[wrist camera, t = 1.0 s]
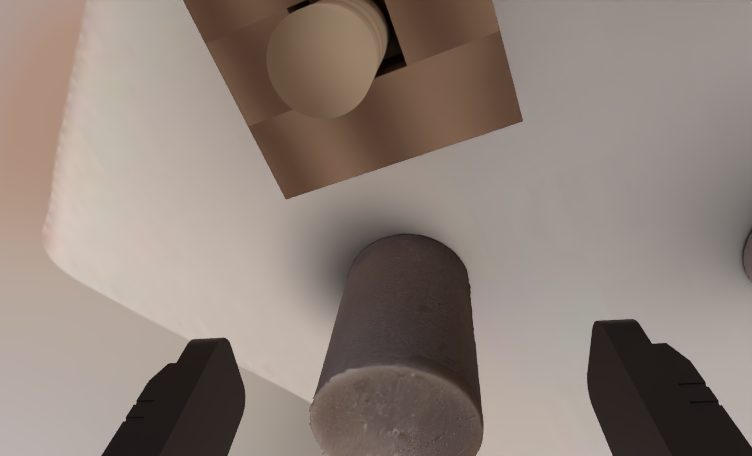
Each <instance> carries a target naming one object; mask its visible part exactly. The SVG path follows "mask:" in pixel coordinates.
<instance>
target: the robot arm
mask: <svg viewBox="0 0 752 456" xmlns="http://www.w3.org/2000/svg"><path fill="white" fill-rule="evenodd" d="M743 262H744V267H745V272H746V274H747V275H748V277H749V279H750V280H751V282H752V233H751V235H750V236H749V238H748V241H747V244H746V247H745V249H744V259H743ZM705 383H706V382H705V381H704V380H703V378H702V377H701V375H700V374H699V373H698V371H697V370H696V368H695V367H694V366H693V364H692V363H691V361H690V360H688V359H687V358H686V357H684V356H683V355H681V354H680V353H679V352H677V351H676V350H675V349H673V348H672V347H671V346H669V345H668V344H667V343H659V344H652V343H651V342H650V340H649V338H648V337H647V335H646V334H645V332H644V331H643V329H642V327H641V326H640V324H639V323H638V322H637V321H636V320H634V319H624V320H604V321H595V322H594V325H593V329H592V337H591V346H590V355H589V364H588V372H587V384H588V392H589V397H590V400H591V404H592V406H593V409H594V411H595V414H596V416H597V419H598V421H599V423H600V426H601V428H602V431H603V433H604V435H605V438H606V440H607V443H608V445H609V447H610V450H611V452H612V455H613V456H752V447H751V446H750V444H749V443H748V442H747V440H746V439H745V437H744V436H743V435H742V433H741V432H740V430H739V429H738V427H737V426H736V425H735V423H734V422H733V420H732V419H731V418H730V416H729V415H728V413H727V412H726V411H725V409H724V408H723V406H722V405H719V403H718V399H717V398H716V397H715V395H714V394H713V392H712V391H711V390H710V388H709V387H706V384H705ZM244 407H245V389H244V385H243V381H242V378H241V375H240V372H239V369H238V366H237V363H236V360H235V357H234V354H233V351H232V348H231V345H230V342H229V341H228V340H227V339H226V338H210V339H193V340H191V341H190V342H189V343H188V344H187V346H186V348H185V349H184V351H183V353H182V354H181V356H180V358H179V359H178V361H177V363H170V364H167V365H166V366H165V367H164V368H163V369H162V370H161V371H160V372H158V373H157V374H156V375H155V376H154V377H153V378H152V379H151V380H149V382H148V383H147V385H146V386H145V388H144V390H143V392H142V393H141V394H140V396H139V398H138V399H137V403H136V405H133V407H132V409H131V410H130V412H129V413H128V415H127V416H126V421H125V422H123V423H122V424H121V426H120V428H119V429H118V431H117V432H116V434H115V435H114V437H113V438H112V440H111V442H110V443H109V445H108V446H107V448H106V449H105V451H104V453H103V454H102V456H227V455H228V453H229V450H230V447H231V445H232V442H233V439H234V437H235V434H236V432H237V429H238V426H239V424H240V421H241V418H242V415H243V412H244Z"/></svg>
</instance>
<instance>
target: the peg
mask: <svg viewBox="0 0 752 456" xmlns="http://www.w3.org/2000/svg"><path fill="white" fill-rule="evenodd" d="M393 33H394V27H393V24H392V21H391V18H390V15H389V12H388V9H387V6H386V4H385V1H384V0H321V1H318V2H316V3H313V4H311V5H309V6H306V7H304V8H301V9H299V10H296V11H294V12H293V13H291V14H289V15H288V16H286V17H285V18H284V19H283V20H282V21H281V22H280V23H279V24H278V25H277V27H276V28H275V29H274V31H273V33H272V35H271V37H270V40H269V43H268V47H267V55H266V62H267V70H268V74H269V78H270V80H271V83H272V85H273V87H274V89H275V91H276V92H277V94H278V95H279V96H280V98H281V99H282V100H283V101H284V102H285V103H286V104H287V105H288V106H290V107H291V108H292V109H294V110H295V111H297V112H299V113H301V114H303V115H306V116H308V117H312V118H318V119H330V118H336V117H339V116H342V115H344V114H346V113H348V112H350V111H351V110H353V109H354V108H355V107H356V106H358V104H359V103H360V102H361V101H362V100H363V98H364V97H365V96H366V94H367V92H368V90H369V88H370V86H371V83H372V81H373V79H374V77H375V75H376V73H377V70H378V68H379V66H380V64H381V62H382V60H383V57H384V55H385V53H386V51H387V49H388V47H389V44H390V42H391V40H392V37H393Z"/></svg>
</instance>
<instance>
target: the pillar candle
mask: <svg viewBox="0 0 752 456" xmlns="http://www.w3.org/2000/svg"><path fill="white" fill-rule="evenodd" d="M470 288H471V287H470V284H469V279H468V274H467V269H466V268H465V266H464V264H463V263H462V261H461V260H460V258H459V257H458V256H457V255H456V254H455V253H454V252H453V251H452V250H451V249H449V248H448V247H446V246H444V245H443V244H442V243H440V242H438V241H436V240H434V239H431V238H428V237H424V236H419V235H411V234H404V235H394V236H389V237H386V238H383V239H380V240H378V241H376V242H374V243H372V244H370V245H369V246H368V247H366V248H365V249H364V250H363V251H362V252H361V253H360V254H359V255H358V256H357V258H356V259H355V260H354V262H353V264H352V266H351V269H350V271H349V275H348V279H347V283H346V286H345V289H344V293H343V296H342V300H341V303H340V306H339V310H338V314H337V317H336V321H335V324H334V328H333V332H332V335H331V339H330V343H329V347H328V350H327V354H326V357H325V361H324V364H323V368H322V372H321V375H320V379H319V383H318V386H317V389H316V392H315V395H314V397H313V399H314V401H313V403H312V405H311V407H310V410H309V411H310V421H311V422H310V426H311V429H312V432H313V435H314V437H315V440H316V442H317V443H318V444H319V446H320V447H321V449H322V450H323V451H324V452H323V455H325V456H476V454H477V452H478V451H479V449H480V447H481V443H482V439H483V415H482V406H481V395H480V385H479V377H478V365H477V355H476V343H475V339H474V328H473V319H472V306H471V298H470V294H471V291H470Z"/></svg>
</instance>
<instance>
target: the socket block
mask: <svg viewBox="0 0 752 456" xmlns="http://www.w3.org/2000/svg"><path fill="white" fill-rule="evenodd" d="M183 1H184V3H185V5H186V7H187V9H188V11H189V13H190V15H191V16H192V18H193V20H194V22H195V24H196V26H197V28H198V30H199V32H200V34H201V36H202V38H203V40H204V42H205V44H206V46H207V48H208V49H209V51H210V53H211V55H212V57H213V59H214V61H215V63H216V65H217V67H218V69H219V71H220V73H221V75H222V77H223V79H224V80H225V82H226V84H227V86H228V88H229V90H230V92H231V94H232V96H233V98H234V100H235V102H236V104H237V106H238V108H239V110H240V111H241V113H242V115H243V117H244V119H245V121H246V123H247V125H248V127H249V129H250V131H251V133H252V135H253V137H254V139H255V141H256V142H257V144H258V146H259V148H260V150H261V152H262V154H263V156H264V158H265V160H266V162H267V164H268V166H269V168H270V170H271V172H272V173H273V175H274V177H275V179H276V181H277V183H278V185H279V187H280V189H281V191H282V193H283V195H284V197H285V199H289V198H292V197H295V196H298V195H301V194H304V193H307V192H310V191H313V190H316V189H319V188H322V187H325V186H328V185H331V184H334V183H337V182H340V181H343V180H346V179H349V178H352V177H355V176H358V175H362V174H365V173H368V172H371V171H374V170H377V169H380V168H383V167H386V166H389V165H392V164H395V163H398V162H401V161H404V160H407V159H410V158H413V157H416V156H419V155H422V154H425V153H428V152H431V151H434V150H437V149H440V148H443V147H446V146H449V145H452V144H455V143H459V142H462V141H465V140H468V139H471V138H474V137H477V136H480V135H483V134H486V133H489V132H492V131H495V130H498V129H501V128H504V127H507V126H510V125H513V124H516V123H519V122H522V121H523V119H522V115H521V112H520V108H519V104H518V100H517V96H516V92H515V88H514V84H513V80H512V76H511V73H510V69H509V65H508V61H507V57H506V53H505V49H504V45H503V41H502V37H501V34H500V30H499V26H498V22H497V18H496V14H495V10H494V6H493V2H492V0H384V1H385V4H386V6H387V9H388V12H389V15H390V18H391V21H392V24H393V27H394V33H393V37H392V40H391V42H390V44H389V47H388V49H387V51H386V53H385V55H384V57H383V60H382V62H381V64H380V66H379V68H378V70H377V73H376V75H375V77H374V79H373V81H372V83H371V86H370V88H369V90H368V92H367V94H366V96H365V97H364V98H363V100H362V101H361V102H360V103H359V104H358V106H356V107H355V108H354V109H353V110H351V111H350V112H348V113H346V114H344V115H342V116H339V117H336V118H330V119H318V118H312V117H308V116H306V115H303V114H301V113H299V112H297V111H295V110H294V109H292V108H291V107H290V106H288V105H287V104H286V103H285V102H284V101H283V100H282V99H281V98H280V96H279V95H278V94H277V92H276V91H275V89H274V87H273V85H272V83H271V80H270V78H269V74H268V70H267V62H266V55H267V47H268V43H269V40H270V37H271V35H272V33H273V31H274V29H275V28H276V27H277V25H278V24H279V23H280V22H281V21H282V20H283V19H284V18H285V17H286V16H288V15H289V14H291V13H293V12H294V11H296V10H299V9H301V8H304V7H306V6H309V5H311V4H313V3H316V2H318V1H321V0H183Z"/></svg>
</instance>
